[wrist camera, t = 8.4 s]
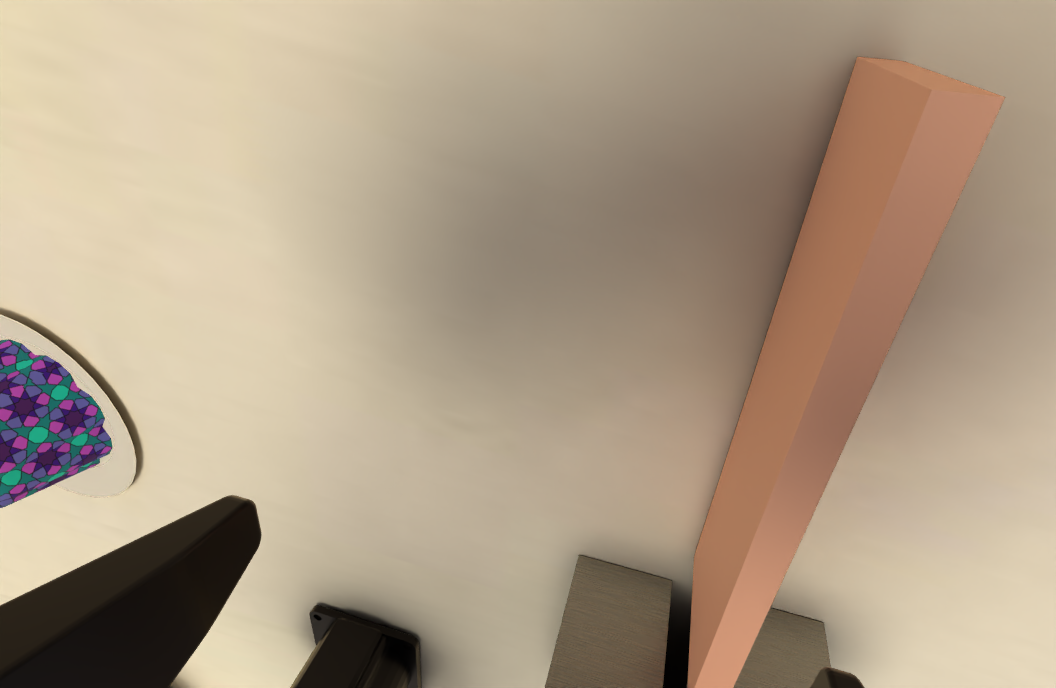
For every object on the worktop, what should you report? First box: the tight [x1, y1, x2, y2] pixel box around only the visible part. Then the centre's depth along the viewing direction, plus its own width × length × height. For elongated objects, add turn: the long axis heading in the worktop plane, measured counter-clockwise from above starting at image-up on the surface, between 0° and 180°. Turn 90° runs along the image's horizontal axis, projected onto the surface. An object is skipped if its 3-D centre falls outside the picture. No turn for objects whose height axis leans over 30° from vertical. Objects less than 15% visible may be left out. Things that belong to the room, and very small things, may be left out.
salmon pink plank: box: [687, 57, 1005, 688], centre depth 16 cm, size 18×1×6 cm, turn 176°
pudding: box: [0, 314, 136, 508], centre depth 29 cm, size 12×12×5 cm
